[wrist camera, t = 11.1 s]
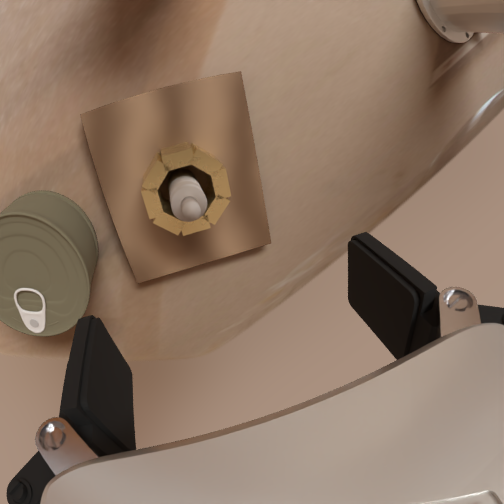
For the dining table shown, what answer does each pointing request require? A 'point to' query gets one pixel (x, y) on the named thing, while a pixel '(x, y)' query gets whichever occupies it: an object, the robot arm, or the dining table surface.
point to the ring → (214, 191)
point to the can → (45, 263)
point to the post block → (179, 172)
